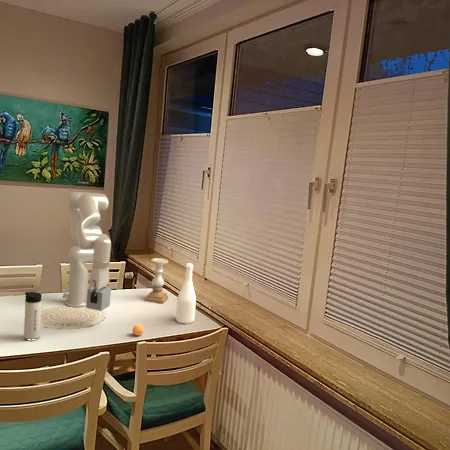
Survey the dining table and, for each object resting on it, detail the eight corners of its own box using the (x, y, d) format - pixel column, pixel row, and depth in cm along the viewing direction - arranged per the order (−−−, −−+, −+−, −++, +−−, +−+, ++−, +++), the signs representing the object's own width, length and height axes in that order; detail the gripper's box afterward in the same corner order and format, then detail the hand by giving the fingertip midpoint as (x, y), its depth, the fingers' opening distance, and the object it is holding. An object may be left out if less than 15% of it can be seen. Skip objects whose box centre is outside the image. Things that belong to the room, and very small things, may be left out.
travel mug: (26, 334, 188) (27, 290, 185) (41, 335, 188) (43, 291, 186) (20, 340, 182) (22, 294, 179) (36, 341, 182) (38, 295, 180)
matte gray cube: (86, 307, 201) (87, 289, 199) (95, 302, 208) (96, 285, 207) (101, 311, 199) (102, 292, 198) (109, 306, 206) (111, 288, 205)
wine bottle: (186, 316, 230) (191, 261, 226) (197, 322, 223) (203, 265, 219) (171, 319, 223) (176, 262, 219) (183, 325, 217) (188, 267, 213)
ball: (130, 325, 197) (140, 327, 195) (135, 322, 201) (145, 323, 200) (130, 336, 197) (140, 338, 196) (135, 332, 202) (145, 334, 201)
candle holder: (150, 296, 259) (153, 256, 255) (168, 298, 257) (171, 259, 254) (144, 301, 248) (147, 260, 245) (163, 303, 246) (166, 263, 243)
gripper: (103, 258, 210) (101, 293, 212) (83, 266, 193) (80, 304, 196) (117, 261, 208) (114, 296, 211) (98, 269, 191) (95, 307, 194)
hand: (98, 300), depth 203 cm, fingers closed on matte gray cube, 7 cm apart
